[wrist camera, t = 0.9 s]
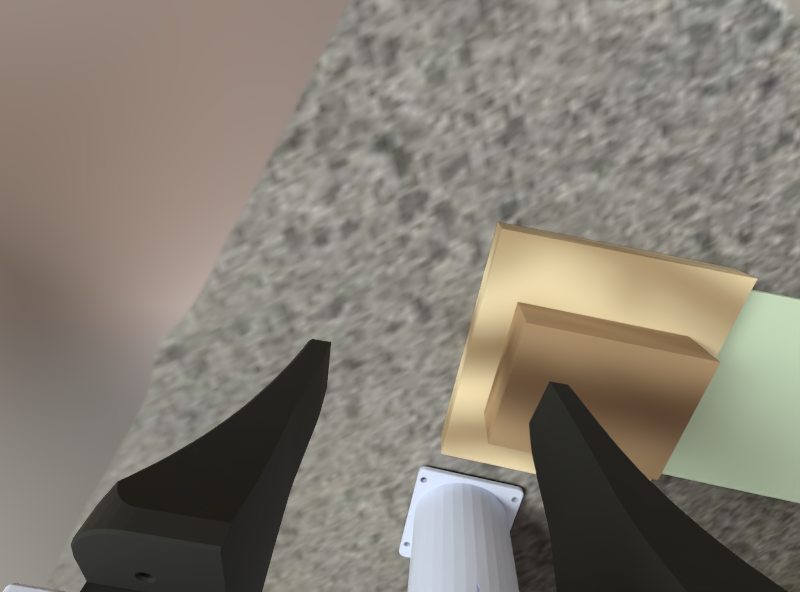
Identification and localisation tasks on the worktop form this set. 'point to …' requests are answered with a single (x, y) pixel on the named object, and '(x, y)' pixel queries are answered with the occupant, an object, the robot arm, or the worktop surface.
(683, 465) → the sage mat
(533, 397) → the walnut tile
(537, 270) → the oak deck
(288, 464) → the robot arm
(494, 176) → the worktop surface
